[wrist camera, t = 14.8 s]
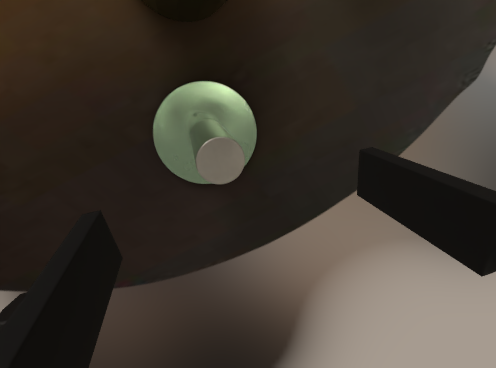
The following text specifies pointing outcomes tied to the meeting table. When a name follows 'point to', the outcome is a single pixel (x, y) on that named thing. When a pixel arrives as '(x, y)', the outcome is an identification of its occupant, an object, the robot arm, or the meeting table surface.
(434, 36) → the meeting table surface
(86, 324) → the robot arm
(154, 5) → the trash can
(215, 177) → the bin lid
